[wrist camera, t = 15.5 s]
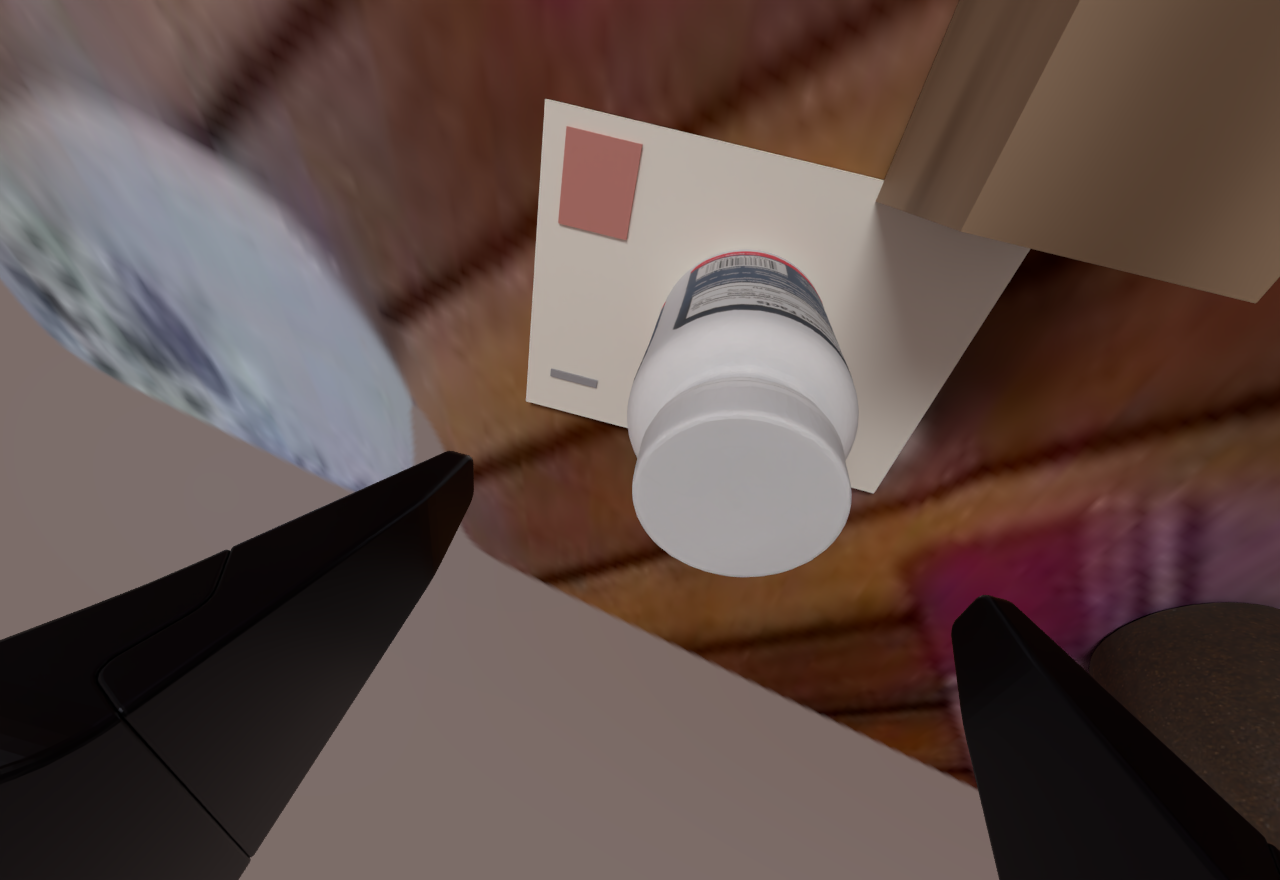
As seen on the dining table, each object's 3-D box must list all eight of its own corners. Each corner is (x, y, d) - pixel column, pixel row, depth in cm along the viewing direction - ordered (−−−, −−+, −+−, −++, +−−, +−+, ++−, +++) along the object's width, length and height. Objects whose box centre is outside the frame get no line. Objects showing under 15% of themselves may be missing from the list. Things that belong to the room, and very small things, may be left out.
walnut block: (1204, 7, 11) (1632, -124, 6) (1056, 245, 13) (1255, 304, 8) (977, -44, 11) (1191, -216, 6) (875, 201, 14) (960, 231, 8)
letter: (1042, 218, 13) (1050, 221, 13) (872, 488, 19) (874, 495, 19) (548, 99, 14) (543, 98, 14) (528, 397, 20) (525, 402, 19)
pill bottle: (740, 424, 18) (735, 633, 11) (630, 335, 17) (545, 504, 10) (860, 322, 15) (960, 514, 8) (739, 206, 14) (731, 311, 7)
